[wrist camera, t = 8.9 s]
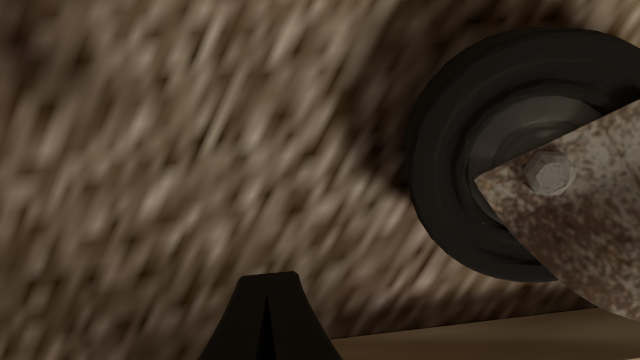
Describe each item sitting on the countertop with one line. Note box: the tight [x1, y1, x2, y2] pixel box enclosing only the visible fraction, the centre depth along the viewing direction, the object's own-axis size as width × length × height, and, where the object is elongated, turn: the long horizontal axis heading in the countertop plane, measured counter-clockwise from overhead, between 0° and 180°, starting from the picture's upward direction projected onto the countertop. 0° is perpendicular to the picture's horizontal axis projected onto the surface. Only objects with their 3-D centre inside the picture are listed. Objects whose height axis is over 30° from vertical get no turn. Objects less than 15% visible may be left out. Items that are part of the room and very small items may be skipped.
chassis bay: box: [330, 307, 640, 360], centre depth 16 cm, size 20×18×3 cm
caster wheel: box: [404, 27, 640, 321], centre depth 15 cm, size 7×11×10 cm
